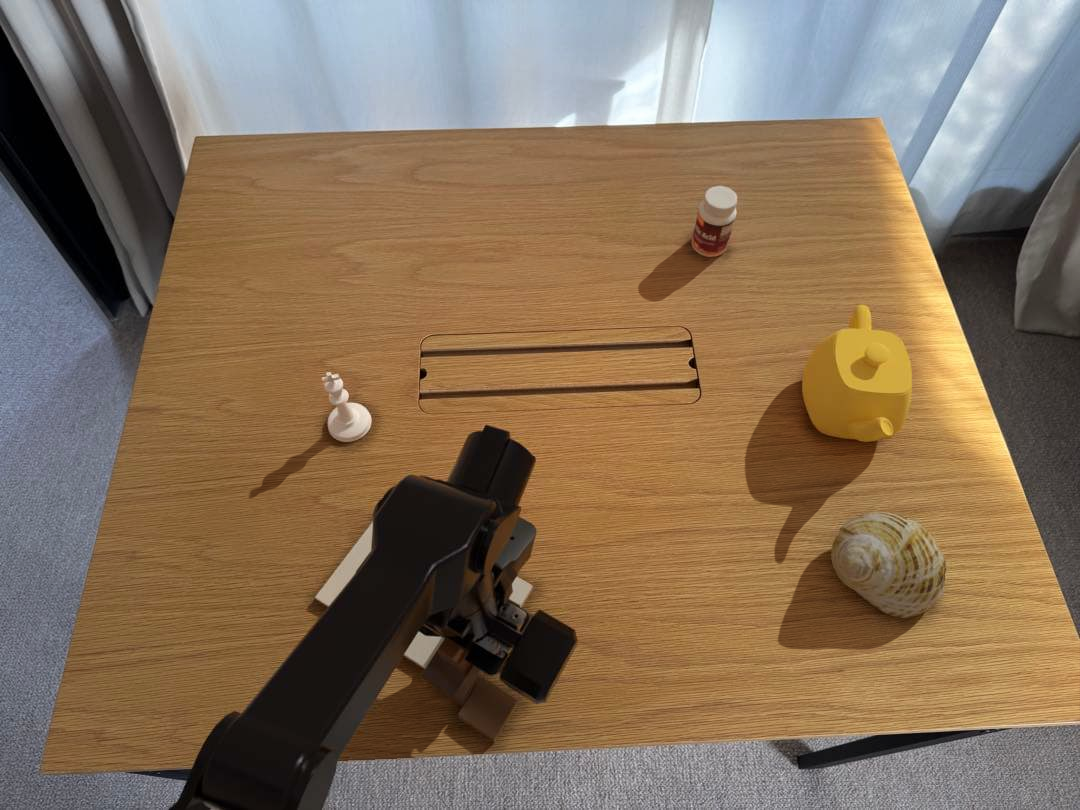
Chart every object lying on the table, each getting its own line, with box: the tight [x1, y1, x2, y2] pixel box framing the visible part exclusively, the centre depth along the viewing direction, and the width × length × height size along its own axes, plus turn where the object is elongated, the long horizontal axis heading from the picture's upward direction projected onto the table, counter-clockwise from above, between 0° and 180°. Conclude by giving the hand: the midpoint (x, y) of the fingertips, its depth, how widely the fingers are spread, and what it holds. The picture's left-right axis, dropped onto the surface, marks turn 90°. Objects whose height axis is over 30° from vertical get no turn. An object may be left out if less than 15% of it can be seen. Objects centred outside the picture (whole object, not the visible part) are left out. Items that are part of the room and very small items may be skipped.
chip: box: [457, 676, 519, 743], centre depth 70 cm, size 4×4×2 cm
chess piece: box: [321, 371, 373, 443], centre depth 83 cm, size 5×5×10 cm
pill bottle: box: [691, 185, 738, 258], centre depth 98 cm, size 5×5×8 cm
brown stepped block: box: [420, 599, 520, 707], centre depth 70 cm, size 10×4×7 cm, turn 149°
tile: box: [314, 521, 534, 670], centre depth 76 cm, size 12×18×1 cm, turn 59°
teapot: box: [801, 304, 913, 443], centre depth 83 cm, size 18×11×11 cm, turn 174°
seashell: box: [830, 511, 947, 619], centre depth 75 cm, size 10×10×10 cm
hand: (471, 639), depth 70 cm, fingers closed on brown stepped block, 2 cm apart
